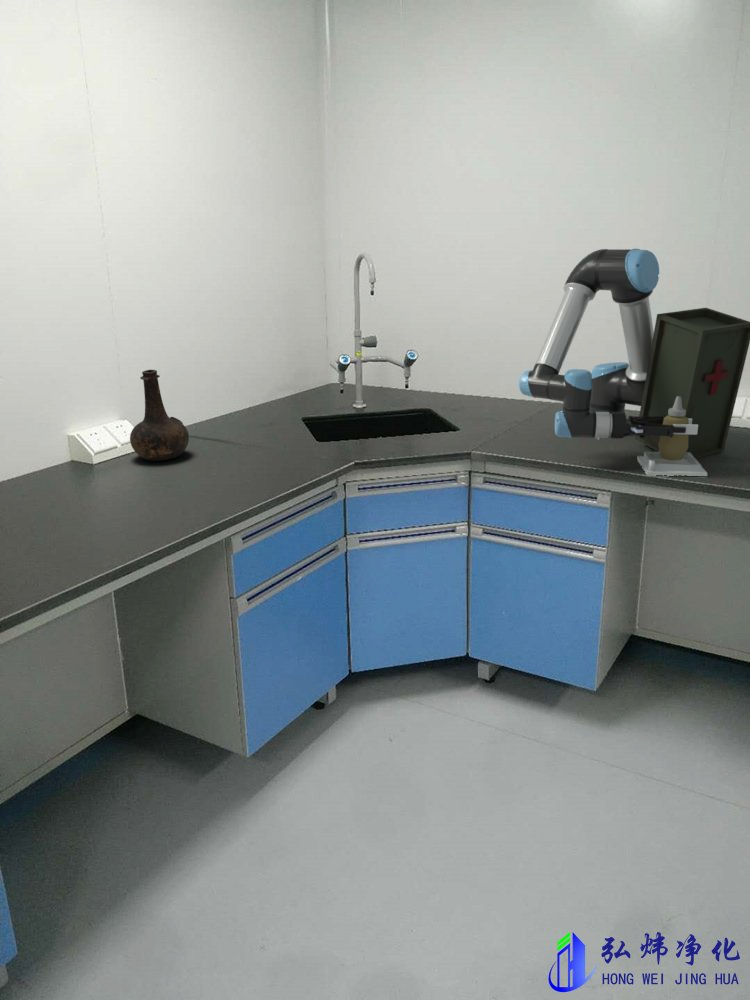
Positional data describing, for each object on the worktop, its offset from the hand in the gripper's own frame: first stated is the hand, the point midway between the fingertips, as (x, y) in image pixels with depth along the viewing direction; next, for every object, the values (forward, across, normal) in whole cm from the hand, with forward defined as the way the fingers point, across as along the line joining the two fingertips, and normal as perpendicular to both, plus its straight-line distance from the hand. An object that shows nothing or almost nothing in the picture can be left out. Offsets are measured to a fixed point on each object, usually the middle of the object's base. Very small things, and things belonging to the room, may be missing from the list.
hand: (694, 426), depth 214 cm
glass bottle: (-161, 0, -13) cm, 162 cm away
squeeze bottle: (-5, 0, -10) cm, 11 cm away
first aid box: (+1, -20, -11) cm, 23 cm away
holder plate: (-5, 0, -12) cm, 13 cm away
